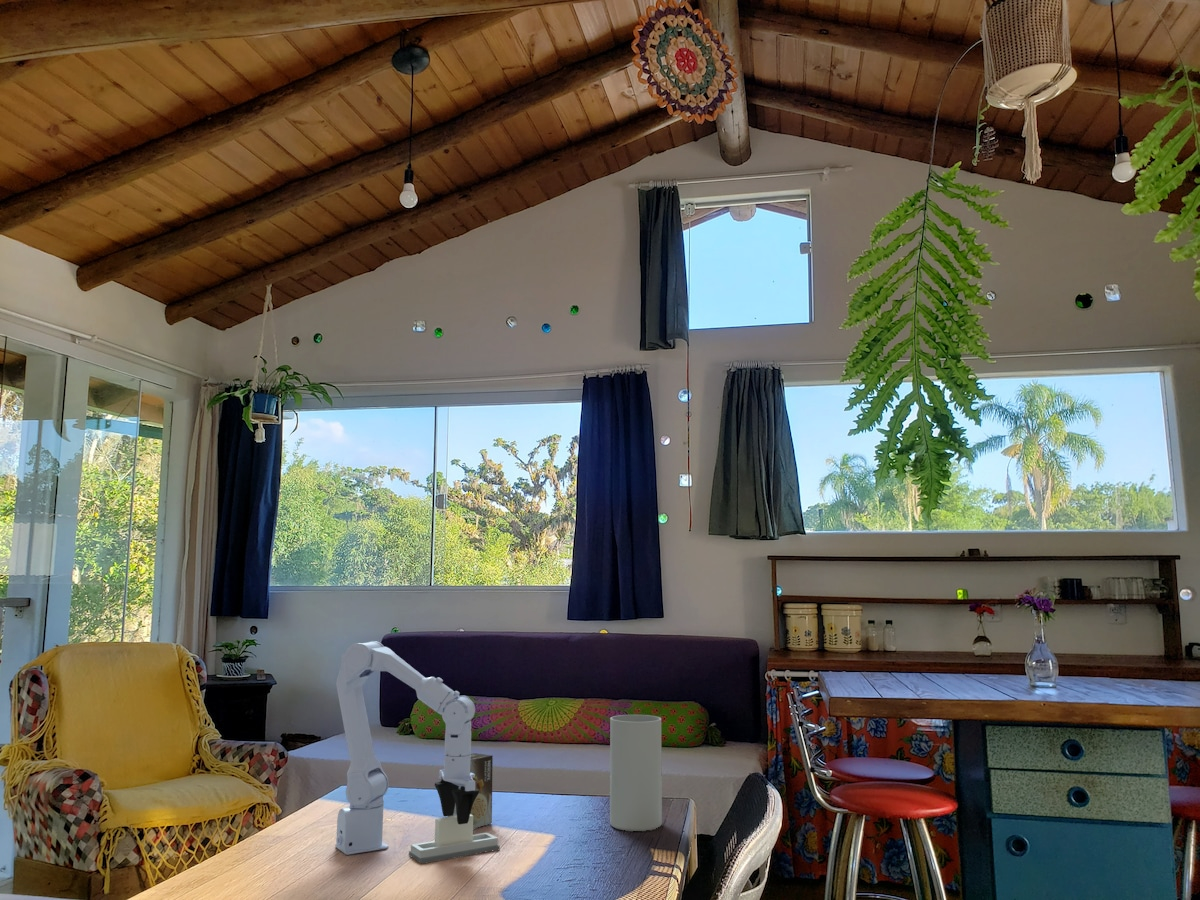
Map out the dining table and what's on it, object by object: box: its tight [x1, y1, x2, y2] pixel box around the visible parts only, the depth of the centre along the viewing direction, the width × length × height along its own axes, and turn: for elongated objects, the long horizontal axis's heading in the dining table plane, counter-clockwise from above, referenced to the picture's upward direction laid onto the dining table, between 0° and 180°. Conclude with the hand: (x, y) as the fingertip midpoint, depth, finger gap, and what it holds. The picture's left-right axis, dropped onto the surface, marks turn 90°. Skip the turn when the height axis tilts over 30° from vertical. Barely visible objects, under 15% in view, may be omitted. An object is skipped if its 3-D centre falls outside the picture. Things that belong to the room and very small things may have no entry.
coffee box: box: [447, 752, 494, 830], centre depth 215 cm, size 9×6×16 cm
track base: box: [408, 832, 500, 864], centre depth 192 cm, size 18×7×2 cm, turn 124°
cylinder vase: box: [609, 714, 663, 832], centre depth 217 cm, size 12×12×25 cm
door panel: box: [434, 814, 474, 847], centre depth 193 cm, size 8×2×6 cm, turn 124°
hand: (455, 819), depth 193 cm, fingers open, 7 cm apart
